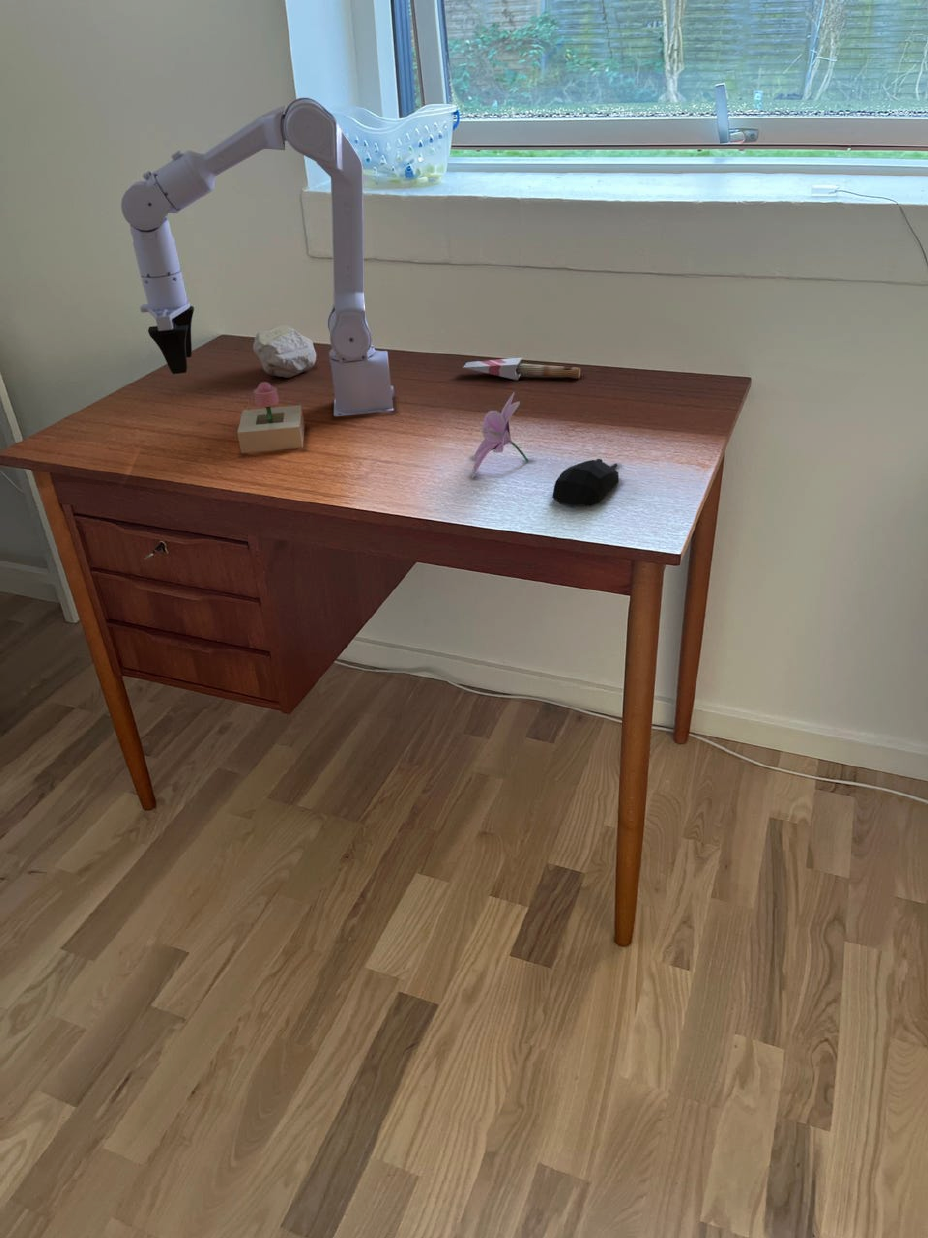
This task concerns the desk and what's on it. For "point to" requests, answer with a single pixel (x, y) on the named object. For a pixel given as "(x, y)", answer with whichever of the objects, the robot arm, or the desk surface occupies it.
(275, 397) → the flower
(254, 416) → the beige square socket block
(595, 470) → the gaming mouse
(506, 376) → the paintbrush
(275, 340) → the white rock
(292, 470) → the desk surface
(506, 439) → the lily
